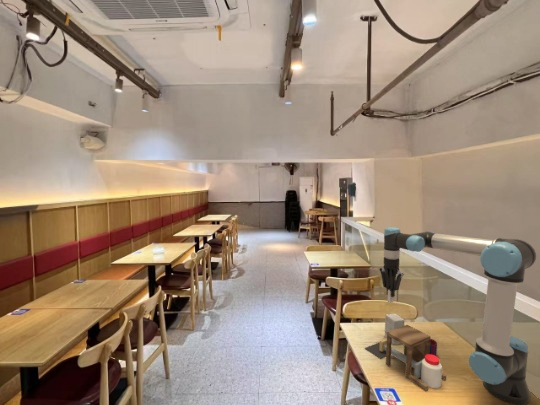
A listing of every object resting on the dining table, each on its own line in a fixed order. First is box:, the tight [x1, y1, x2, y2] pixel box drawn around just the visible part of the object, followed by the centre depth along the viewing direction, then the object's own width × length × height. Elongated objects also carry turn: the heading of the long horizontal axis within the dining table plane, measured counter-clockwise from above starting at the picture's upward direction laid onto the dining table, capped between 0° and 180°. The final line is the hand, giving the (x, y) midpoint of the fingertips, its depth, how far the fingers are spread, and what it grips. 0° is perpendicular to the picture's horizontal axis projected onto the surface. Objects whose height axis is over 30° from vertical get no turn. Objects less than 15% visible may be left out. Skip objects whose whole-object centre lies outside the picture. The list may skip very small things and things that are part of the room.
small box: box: [384, 313, 406, 345], centre depth 160 cm, size 8×6×13 cm
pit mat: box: [364, 341, 386, 360], centre depth 151 cm, size 10×12×1 cm
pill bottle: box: [420, 354, 443, 389], centre depth 128 cm, size 8×8×11 cm
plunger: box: [379, 337, 422, 379], centre depth 141 cm, size 22×9×6 cm, turn 30°
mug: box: [430, 338, 438, 357], centre depth 148 cm, size 7×10×7 cm
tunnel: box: [385, 324, 447, 392], centre depth 134 cm, size 20×14×16 cm
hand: (390, 302), depth 155 cm, fingers closed
